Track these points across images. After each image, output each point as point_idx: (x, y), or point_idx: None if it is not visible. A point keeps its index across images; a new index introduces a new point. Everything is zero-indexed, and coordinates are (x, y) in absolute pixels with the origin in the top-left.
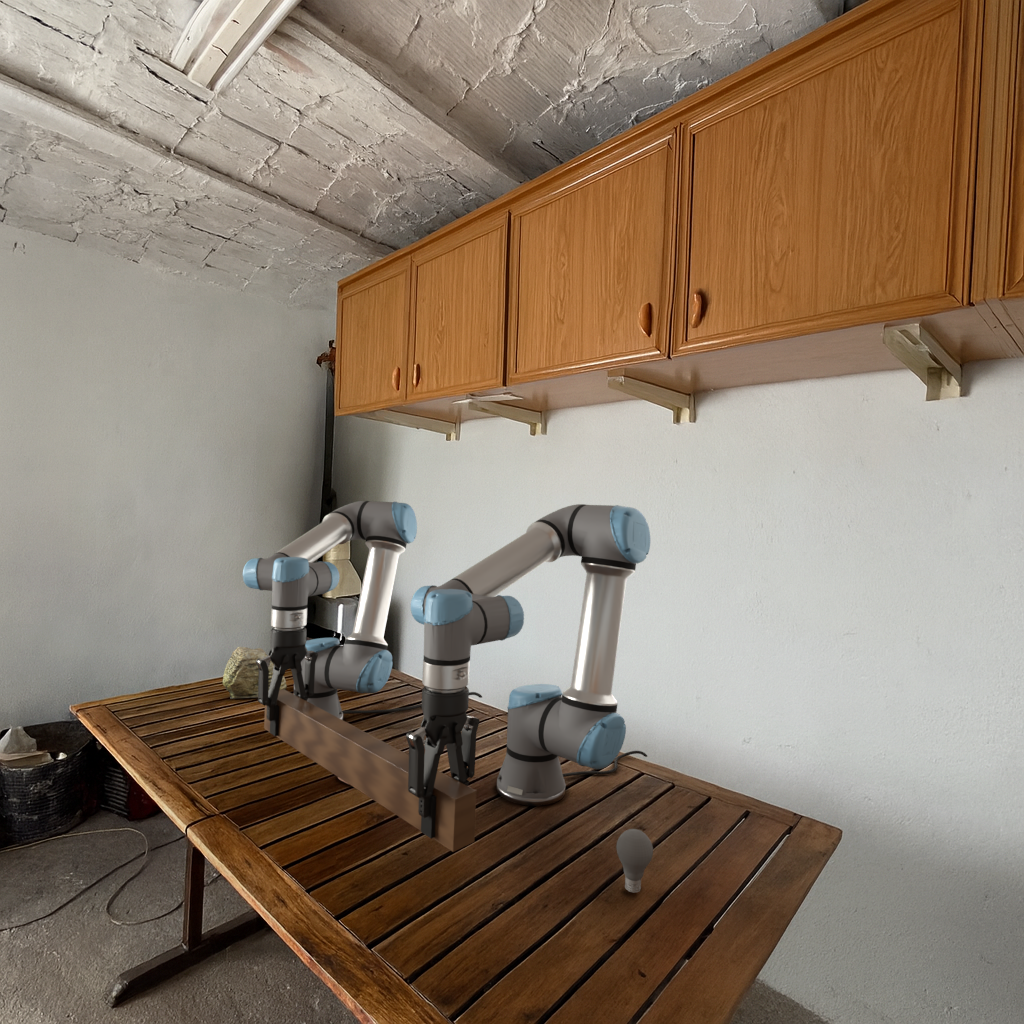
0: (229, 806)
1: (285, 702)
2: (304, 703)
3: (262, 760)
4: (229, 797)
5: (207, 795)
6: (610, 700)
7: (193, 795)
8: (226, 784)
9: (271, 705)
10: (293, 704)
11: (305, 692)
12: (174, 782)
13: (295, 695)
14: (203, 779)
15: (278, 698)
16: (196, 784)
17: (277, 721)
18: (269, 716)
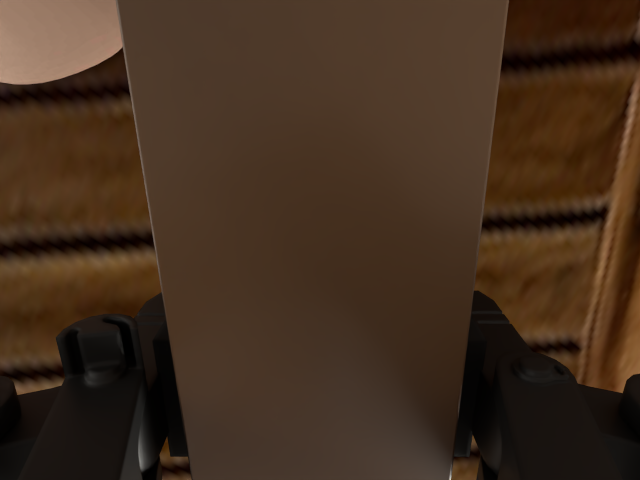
0: (589, 87)
1: (442, 278)
2: (216, 42)
3: None
4: (547, 162)
5: (590, 226)
6: None
7: (620, 255)
8: (498, 268)
9: (553, 362)
10: (395, 116)
11: (45, 424)
12: (605, 377)
13: (192, 452)
14: (531, 347)
15: (424, 464)
16: (567, 326)
17: None
18: (501, 312)
